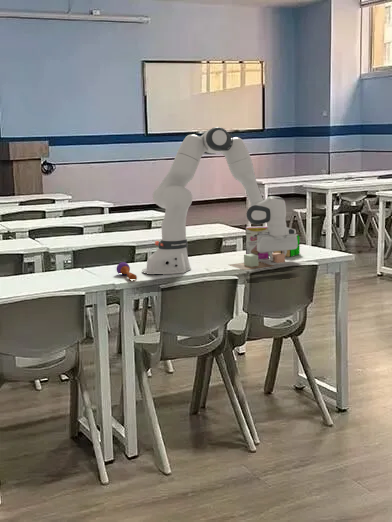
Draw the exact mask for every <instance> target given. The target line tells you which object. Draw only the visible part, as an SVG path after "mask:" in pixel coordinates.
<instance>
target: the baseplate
mask: <svg viewBox="0 0 392 522" xmlns="http://www.w3.org/2000/svg"><path fill="white" fill-rule="evenodd" d="M229 266H231V267H233V268H237V269H239V270H243V271H246V270H247V271H248V270H254V269H255V270H257V269H264V268H271V267H274V265H273V264H269V263H266V262H263V261H260V260H258V266H254V267H250V266H246V265H244V262H240V263H232V264H229Z"/></svg>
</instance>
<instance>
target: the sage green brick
mask: <svg viewBox="0 0 392 522" xmlns="http://www.w3.org/2000/svg"><path fill="white" fill-rule="evenodd" d="M258 261H259V259H258V255H255V254H246V253H244V254H243V263H244V265H246V266H250V267H254V266H258Z"/></svg>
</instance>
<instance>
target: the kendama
mask: <svg viewBox="0 0 392 522" xmlns="http://www.w3.org/2000/svg"><path fill="white" fill-rule="evenodd" d="M130 270H131V267H130V265H129V264H128V263H127V262H123V261H122V262H119V263H118V264H117V266H116V272H117V274H119V273H122V274H127V275H126V277H128V279H129V280H130V279H136V280H137V279H138V276H137V275H136V274H134V273H132V272H131V271H130Z"/></svg>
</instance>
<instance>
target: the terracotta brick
mask: <svg viewBox="0 0 392 522" xmlns="http://www.w3.org/2000/svg"><path fill="white" fill-rule="evenodd" d="M272 256H273V257H275V261H272V262H273V263H276V264H279V263H286V257H285V254H281V253H273V254H272Z"/></svg>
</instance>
